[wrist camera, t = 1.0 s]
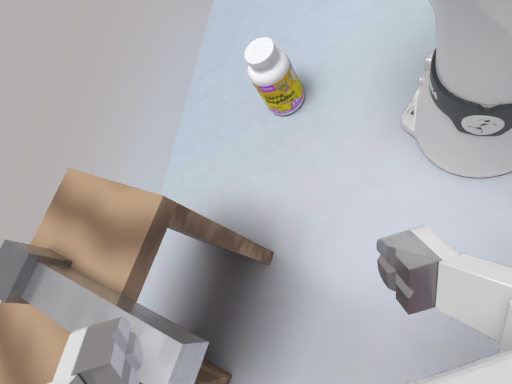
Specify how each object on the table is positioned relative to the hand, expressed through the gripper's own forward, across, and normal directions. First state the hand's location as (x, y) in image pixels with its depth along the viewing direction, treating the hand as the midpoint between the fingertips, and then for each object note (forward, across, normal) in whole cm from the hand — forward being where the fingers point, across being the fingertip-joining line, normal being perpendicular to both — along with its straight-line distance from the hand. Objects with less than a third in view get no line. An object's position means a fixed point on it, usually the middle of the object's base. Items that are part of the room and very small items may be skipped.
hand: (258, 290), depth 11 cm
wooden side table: (+31, +8, +30) cm, 44 cm away
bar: (+14, +12, +10) cm, 21 cm away
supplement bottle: (+50, -14, +8) cm, 53 cm away
